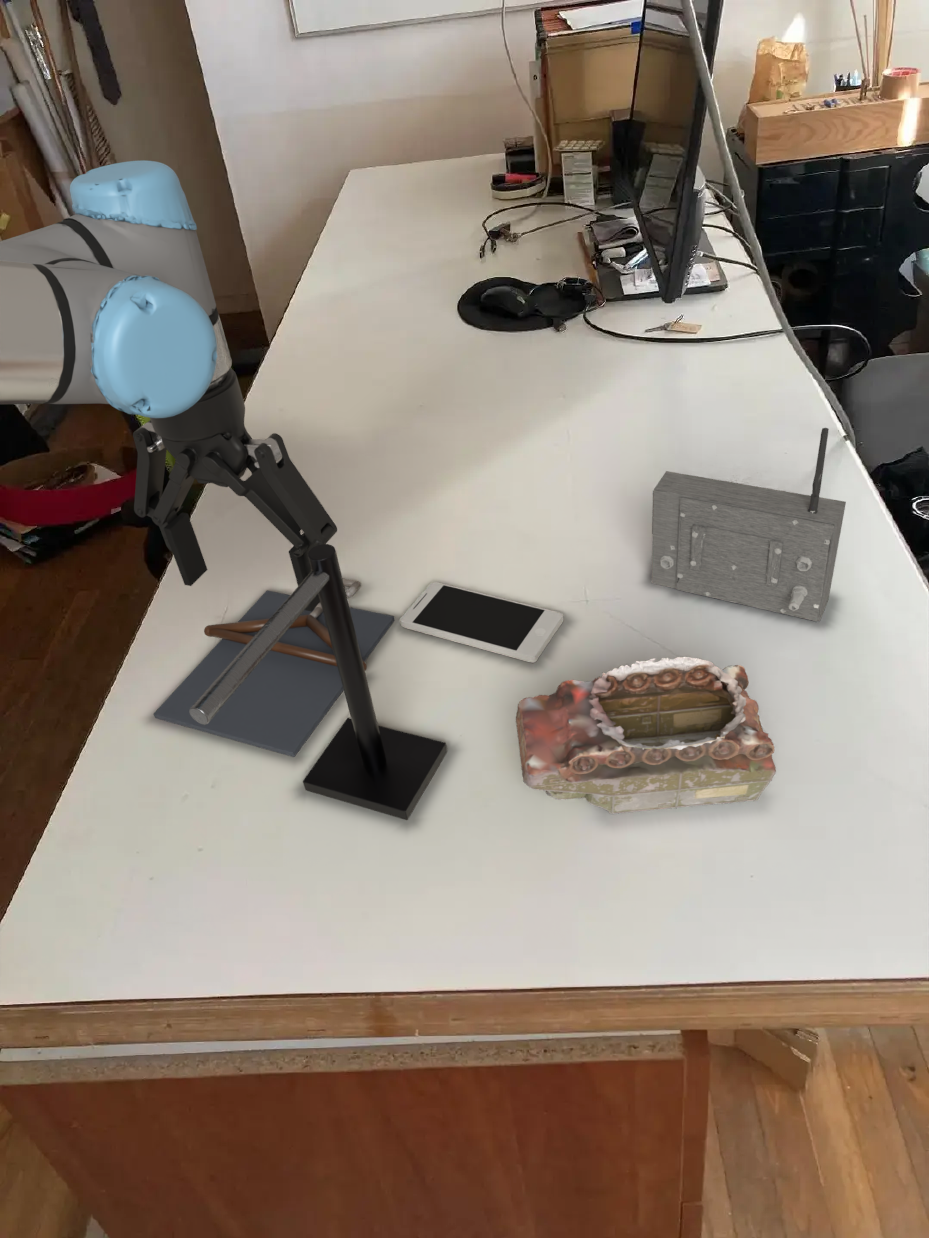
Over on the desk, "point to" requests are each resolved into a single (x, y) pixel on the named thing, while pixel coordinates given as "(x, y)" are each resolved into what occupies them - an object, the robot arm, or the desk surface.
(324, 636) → the hanger
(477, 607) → the smartphone
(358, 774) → the rail stand
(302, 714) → the felt mat
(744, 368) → the desk surface
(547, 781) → the decorative box
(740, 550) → the electronic device
